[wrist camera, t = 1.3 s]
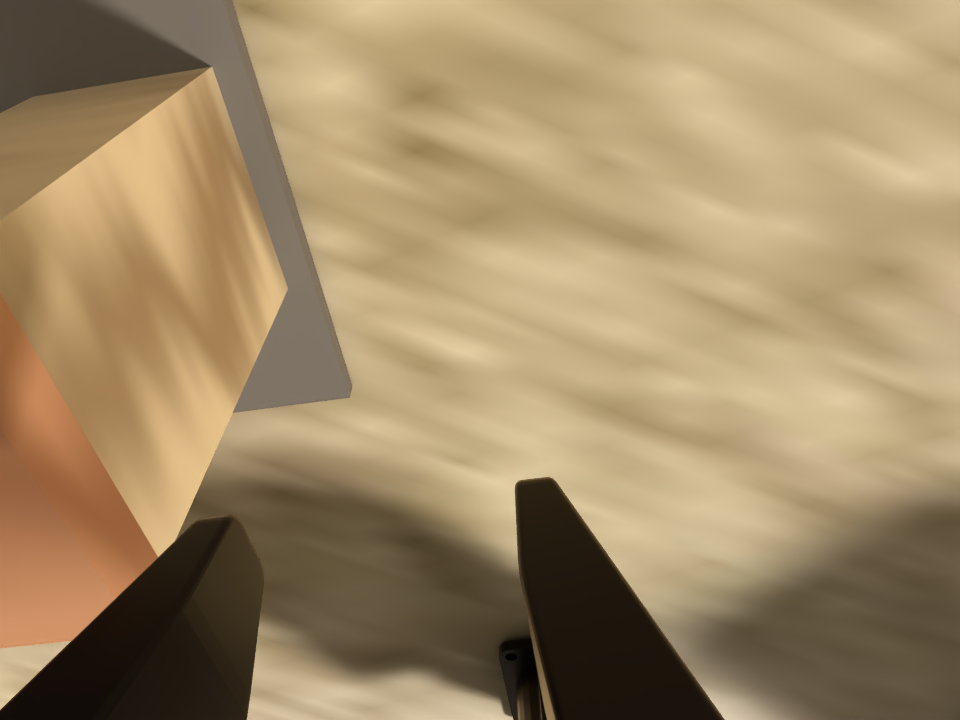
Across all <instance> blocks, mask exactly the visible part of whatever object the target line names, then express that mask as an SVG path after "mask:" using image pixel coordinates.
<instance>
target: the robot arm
mask: <svg viewBox="0 0 960 720" xmlns="http://www.w3.org/2000/svg"><path fill="white" fill-rule="evenodd" d="M515 502H516V524H517V546H518V564H519V574H520V580H521V585H522V591H523V596H524V601H525V607H526V612H527V618H528V623H529V628H530V634H531V639H528V640H518V641H509V642H505V643H503V644H501V645H500V647H499V659H500V664H501V668H502V672H503V676H504V681H505V685H506V689H507V694H508V698H509V702H510V707H511V711H512V715H513V720H724V718H723V717H722V715H721V714H720V713H719V711H718V710H717V708H716V707H715V705H714V704H713V703H712V701H711V700H710V698H709V697H708V696H707V694H706V693H705V691H704V690H703V688H702V687H701V686H700V684H699V683H698V681H697V680H696V679H695V677H694V676H693V674H692V673H691V672H690V670H689V669H688V667H687V666H686V664H685V663H684V662H683V660H682V659H681V657H680V656H679V655H678V653H677V652H676V650H675V649H674V647H673V646H672V645H671V643H670V642H669V640H668V639H667V638H666V636H665V635H664V633H663V632H662V631H661V629H660V628H659V626H658V625H657V623H656V622H655V621H654V619H653V618H652V616H651V615H650V614H649V612H648V611H647V609H646V608H645V607H644V605H643V604H642V602H641V601H640V599H639V598H638V597H637V595H636V594H635V592H634V591H633V590H632V588H631V587H630V585H629V584H628V582H627V581H626V580H625V578H624V577H623V575H622V574H621V573H620V571H619V570H618V568H617V567H616V566H615V564H614V563H613V561H612V560H611V558H610V557H609V556H608V554H607V553H606V551H605V550H604V549H603V547H602V546H601V544H600V543H599V541H598V540H597V539H596V537H595V536H594V534H593V533H592V532H591V530H590V529H589V527H588V526H587V525H586V523H585V522H584V520H583V519H582V517H581V516H580V515H579V513H578V512H577V510H576V509H575V508H574V506H573V505H572V503H571V502H570V501H569V499H568V498H567V496H566V495H565V493H564V492H563V491H562V489H561V488H560V486H559V485H558V484H557V482H556V481H555V480H554V479H552V478H550V477H544V478H535V479H527V480H520V481H518V482H517V483H516V485H515ZM263 584H264V575H263V568H262V564H261V561H260V559H259V557H258V555H257V553H256V551H255V549H254V547H253V545H252V543H251V540H250V538H249V536H248V534H247V532H246V530H245V528H244V526H243V524H242V522H241V521H240V520H239V519H238V518H237V517H236V516H233V515H224V516H216V517H208V518H202V519H199V520H197V521H196V522H195V523H193V524H192V525H191V526H190V527H189V528H188V529H187V530H186V531H185V532H184V533H183V534H182V535H181V536H180V537H179V538H178V539H177V540H175V541H174V542H173V543H172V544H171V545H170V546H169V547H168V548H167V549H166V550H165V551H164V552H163V553H162V554H161V555H160V556H159V557H158V558H157V559H156V560H155V561H154V562H153V563H152V564H151V565H150V566H149V567H148V568H147V569H146V570H144V571H143V572H142V573H141V574H140V575H139V576H138V577H137V578H136V579H135V580H134V581H133V582H132V583H131V584H130V585H129V586H128V587H127V588H126V589H125V590H124V591H123V592H122V593H121V594H120V595H119V596H118V597H117V598H116V599H114V600H113V601H112V602H111V603H110V604H109V605H108V606H107V607H106V608H105V609H104V610H103V611H102V612H101V613H100V614H99V615H98V616H97V617H96V618H95V619H94V620H93V621H92V622H91V623H90V624H89V625H88V626H87V627H86V628H85V629H83V630H82V631H81V632H80V633H79V634H78V635H77V636H76V637H75V638H74V639H73V640H72V641H71V642H70V643H69V644H68V645H67V646H66V647H65V648H64V649H63V650H62V651H61V652H60V653H59V654H58V655H57V656H56V657H55V658H53V659H52V660H51V661H50V662H49V663H48V664H47V665H46V666H45V667H44V668H43V669H42V670H41V671H40V672H39V673H38V674H37V675H36V676H35V677H34V678H33V679H32V680H31V681H30V682H29V683H28V684H27V685H26V686H25V687H24V688H22V689H21V690H20V691H19V692H18V693H17V694H16V695H15V696H14V697H13V698H12V699H11V700H10V701H9V702H8V703H7V704H6V705H5V706H4V707H3V708H2V709H1V710H0V720H247V714H248V707H249V701H250V694H251V685H252V677H253V668H254V660H255V652H256V643H257V635H258V627H259V618H260V610H261V601H262V593H263Z"/></svg>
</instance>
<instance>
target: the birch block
mask: <svg viewBox="0 0 960 720" xmlns="http://www.w3.org/2000/svg"><path fill="white" fill-rule="evenodd" d="M287 290H288V287H287V284H286V281H285V278H284V275H283V273H282V270H281V267H280V264H279V261H278V258H277V255H276V252H275V249H274V246H273V243H272V240H271V237H270V235H269V232H268V229H267V226H266V223H265V220H264V217H263V214H262V211H261V208H260V205H259V202H258V199H257V197H256V194H255V191H254V188H253V185H252V182H251V179H250V176H249V173H248V170H247V167H246V164H245V161H244V159H243V156H242V153H241V150H240V147H239V144H238V141H237V138H236V135H235V132H234V129H233V126H232V123H231V121H230V118H229V115H228V112H227V109H226V106H225V103H224V100H223V97H222V94H221V91H220V88H219V85H218V83H217V80H216V77H215V74H214V71H213V68H212V67H206V68H200V69H194V70H189V71H183V72H177V73H171V74H165V75H159V76H153V77H147V78H141V79H135V80H129V81H123V82H118V83H112V84H106V85H100V86H94V87H88V88H82V89H76V90H70V91H64V92H58V93H52V94H47V95H41V96H35V97H31V98H29V99H27V100H25V101H23V102H21V103H19V104H17V105H15V106H13V107H11V108H9V109H7V110H5V111H3V112H1V113H0V648H7V647H16V646H26V645H35V644H45V643H54V642H64V641H72V640H73V639H74V638H75V637H76V636H77V635H78V634H79V633H80V632H81V631H82V630H83V629H85V628H86V627H87V626H88V625H89V624H90V623H91V622H92V621H93V620H94V619H95V618H96V617H97V616H98V615H99V614H100V613H101V612H102V611H103V610H104V609H105V608H106V607H107V606H108V605H109V604H110V603H111V602H112V601H113V600H114V599H116V598H117V597H118V596H119V595H120V594H121V593H122V592H123V591H124V590H125V589H126V588H127V587H128V586H129V585H130V584H131V583H132V582H133V581H134V580H135V579H136V578H137V577H138V576H139V575H140V574H141V573H142V572H143V571H144V570H146V569H147V568H148V567H149V566H150V565H151V564H152V563H153V562H154V561H155V560H156V559H157V558H158V557H159V556H160V555H161V554H162V553H163V552H164V551H165V550H166V549H167V548H168V547H169V546H170V545H171V544H172V543H173V542H174V541H175V540H176V538H177V536H178V534H179V531H180V529H181V527H182V525H183V522H184V520H185V518H186V516H187V513H188V511H189V509H190V507H191V504H192V502H193V500H194V498H195V496H196V493H197V491H198V489H199V487H200V484H201V482H202V480H203V478H204V475H205V473H206V471H207V469H208V467H209V464H210V462H211V460H212V458H213V455H214V453H215V451H216V449H217V446H218V444H219V442H220V440H221V437H222V435H223V433H224V431H225V429H226V426H227V424H228V422H229V420H230V417H231V415H232V413H233V411H234V408H235V406H236V404H237V402H238V400H239V397H240V395H241V393H242V391H243V388H244V386H245V384H246V382H247V379H248V377H249V375H250V373H251V370H252V368H253V366H254V364H255V362H256V359H257V357H258V355H259V353H260V350H261V348H262V346H263V344H264V341H265V339H266V337H267V335H268V333H269V330H270V328H271V326H272V324H273V321H274V319H275V317H276V315H277V312H278V310H279V308H280V306H281V303H282V301H283V299H284V297H285V295H286V292H287Z"/></svg>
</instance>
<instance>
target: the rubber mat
mask: <svg viewBox="0 0 960 720" xmlns="http://www.w3.org/2000/svg"><path fill="white" fill-rule="evenodd" d="M206 67H212V68H213V71H214V74H215V77H216V80H217V83H218V85H219V88H220V91H221V94H222V97H223V100H224V103H225V106H226V109H227V112H228V115H229V118H230V121H231V123H232V126H233V129H234V132H235V135H236V138H237V141H238V144H239V147H240V150H241V153H242V156H243V159H244V161H245V164H246V167H247V170H248V173H249V176H250V179H251V182H252V185H253V188H254V191H255V194H256V197H257V199H258V202H259V205H260V208H261V211H262V214H263V217H264V220H265V223H266V226H267V229H268V232H269V235H270V237H271V240H272V243H273V246H274V249H275V252H276V255H277V258H278V261H279V264H280V267H281V270H282V273H283V275H284V278H285V281H286V284H287V287H288V290H287V292H286V295H285V297H284V299H283V301H282V303H281V306H280V308H279V310H278V312H277V315H276V317H275V319H274V321H273V324H272V326H271V328H270V330H269V333H268V335H267V337H266V339H265V341H264V344H263V346H262V348H261V350H260V353H259V355H258V357H257V359H256V362H255V364H254V366H253V368H252V370H251V373H250V375H249V377H248V379H247V382H246V384H245V386H244V388H243V391H242V393H241V395H240V397H239V400H238V402H237V404H236V406H235V408H234V411H233V413H234V412H242V411H250V410H258V409H265V408H273V407H281V406H288V405H296V404H304V403H311V402H319V401H327V400H335V399H342V398H350V394H351V390H352V384H351V380H350V377H349V374H348V371H347V368H346V364H345V361H344V358H343V355H342V352H341V348H340V345H339V342H338V339H337V336H336V332H335V329H334V326H333V323H332V320H331V316H330V313H329V310H328V307H327V304H326V300H325V297H324V294H323V291H322V288H321V284H320V281H319V278H318V275H317V272H316V268H315V265H314V262H313V259H312V256H311V252H310V249H309V246H308V243H307V240H306V236H305V233H304V230H303V227H302V224H301V220H300V217H299V214H298V211H297V208H296V204H295V201H294V198H293V195H292V192H291V188H290V185H289V182H288V179H287V176H286V172H285V169H284V166H283V163H282V160H281V156H280V153H279V150H278V147H277V144H276V140H275V137H274V134H273V131H272V128H271V124H270V121H269V118H268V115H267V111H266V108H265V105H264V102H263V99H262V95H261V92H260V89H259V86H258V83H257V79H256V76H255V73H254V70H253V67H252V63H251V60H250V57H249V54H248V51H247V47H246V44H245V41H244V38H243V35H242V31H241V28H240V25H239V22H238V19H237V15H236V12H235V9H234V6H233V3H232V0H0V113H1V112H3V111H5V110H7V109H9V108H11V107H13V106H15V105H17V104H19V103H21V102H23V101H25V100H27V99H29V98H31V97H35V96H41V95H47V94H52V93H58V92H64V91H70V90H76V89H82V88H88V87H94V86H100V85H106V84H112V83H118V82H123V81H129V80H135V79H141V78H147V77H153V76H159V75H165V74H171V73H177V72H183V71H189V70H194V69H200V68H206Z"/></svg>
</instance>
